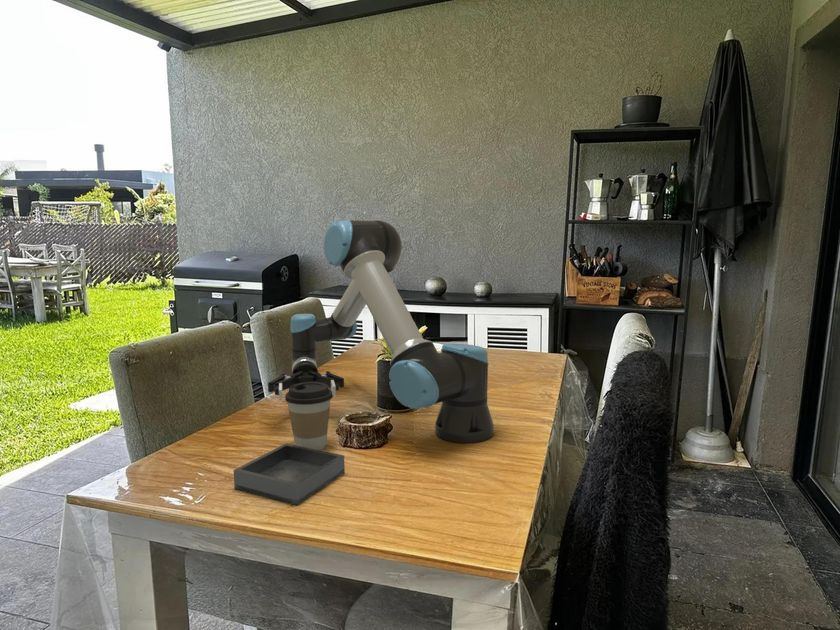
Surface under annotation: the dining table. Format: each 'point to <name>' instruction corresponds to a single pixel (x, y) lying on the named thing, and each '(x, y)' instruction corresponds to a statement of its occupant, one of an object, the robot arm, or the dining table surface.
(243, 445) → the dining table surface
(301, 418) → the coffee cup
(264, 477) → the square tray
